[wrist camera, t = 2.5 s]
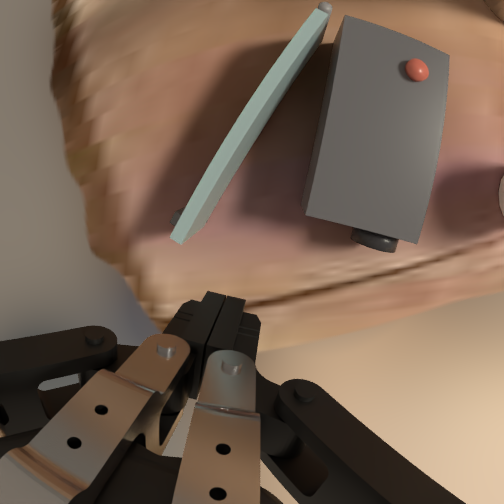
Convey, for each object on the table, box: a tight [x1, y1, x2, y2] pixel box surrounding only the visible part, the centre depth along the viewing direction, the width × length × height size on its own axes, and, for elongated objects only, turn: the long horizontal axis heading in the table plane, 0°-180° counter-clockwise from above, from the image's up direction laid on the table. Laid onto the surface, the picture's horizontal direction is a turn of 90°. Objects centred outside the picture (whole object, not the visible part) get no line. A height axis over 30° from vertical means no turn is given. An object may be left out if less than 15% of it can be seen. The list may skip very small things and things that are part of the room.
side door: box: [170, 2, 332, 245], centre depth 21 cm, size 21×2×6 cm, turn 149°
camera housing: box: [301, 15, 450, 253], centre depth 21 cm, size 17×9×7 cm, turn 169°
